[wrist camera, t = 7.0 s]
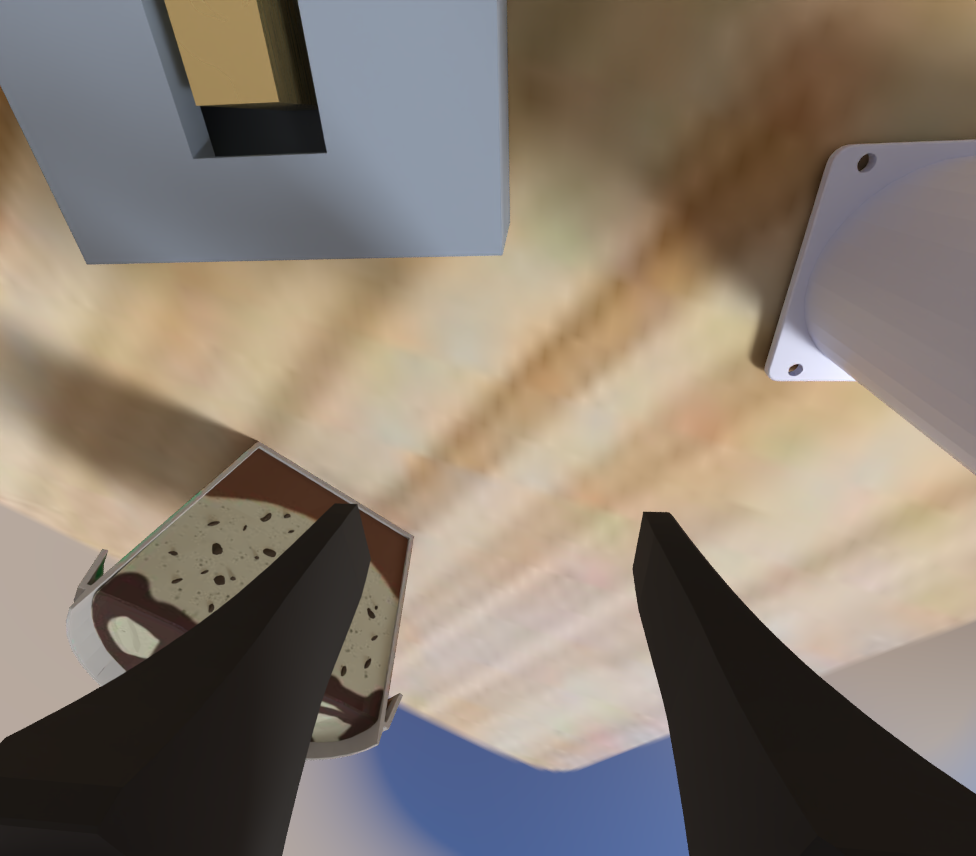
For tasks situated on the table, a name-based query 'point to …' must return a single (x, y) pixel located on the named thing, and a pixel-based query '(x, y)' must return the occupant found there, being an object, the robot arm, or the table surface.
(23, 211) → the table surface
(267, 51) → the block
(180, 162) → the coin box
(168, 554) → the food container
